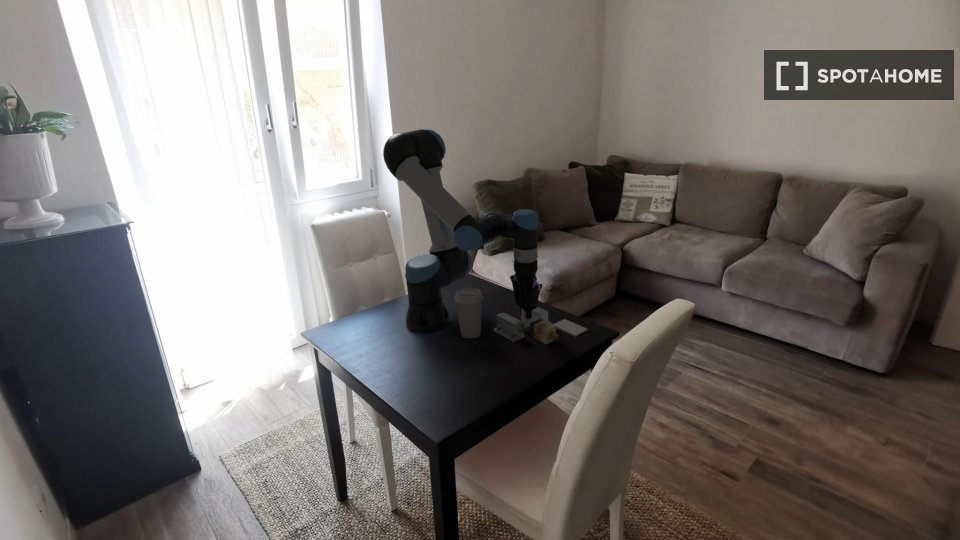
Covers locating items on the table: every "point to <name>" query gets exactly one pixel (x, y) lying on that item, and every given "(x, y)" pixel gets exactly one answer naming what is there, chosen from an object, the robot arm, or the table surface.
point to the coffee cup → (469, 311)
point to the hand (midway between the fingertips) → (526, 326)
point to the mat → (570, 327)
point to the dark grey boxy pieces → (516, 324)
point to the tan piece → (543, 331)
